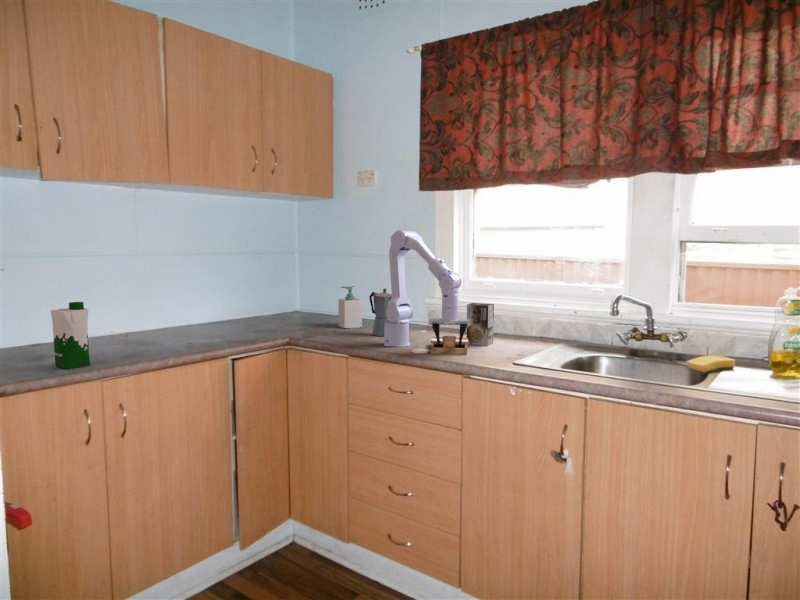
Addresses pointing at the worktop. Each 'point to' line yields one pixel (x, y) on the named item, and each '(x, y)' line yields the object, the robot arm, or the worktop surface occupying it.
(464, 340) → the lid
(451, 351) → the cold frame
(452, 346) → the pot
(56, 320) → the milk carton
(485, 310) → the coffee box
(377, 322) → the moka pot
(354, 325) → the soap bottle
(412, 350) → the saucer
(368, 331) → the worktop surface
